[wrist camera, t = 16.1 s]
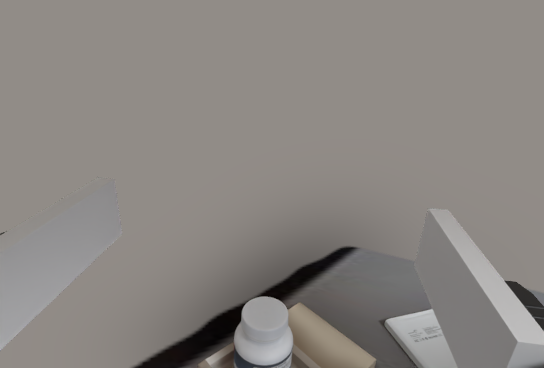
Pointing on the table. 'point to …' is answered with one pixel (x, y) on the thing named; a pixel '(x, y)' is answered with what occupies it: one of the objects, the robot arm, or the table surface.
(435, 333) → the external hard drive
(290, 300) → the table surface
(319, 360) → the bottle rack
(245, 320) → the pill bottle
